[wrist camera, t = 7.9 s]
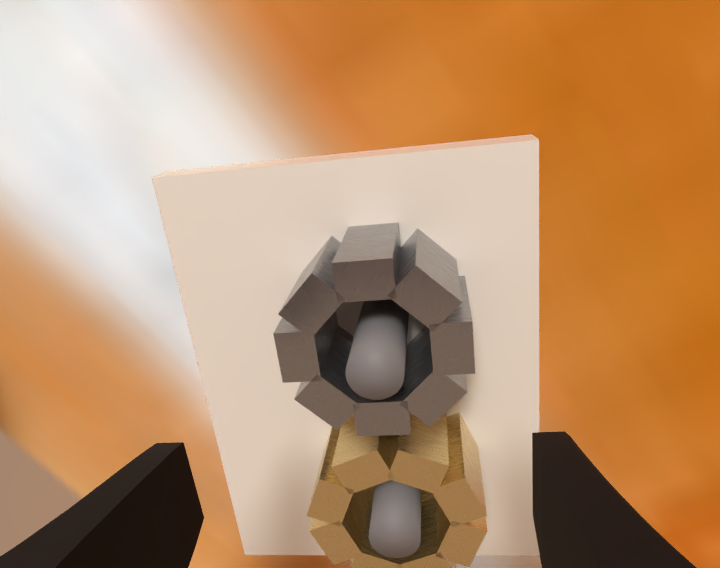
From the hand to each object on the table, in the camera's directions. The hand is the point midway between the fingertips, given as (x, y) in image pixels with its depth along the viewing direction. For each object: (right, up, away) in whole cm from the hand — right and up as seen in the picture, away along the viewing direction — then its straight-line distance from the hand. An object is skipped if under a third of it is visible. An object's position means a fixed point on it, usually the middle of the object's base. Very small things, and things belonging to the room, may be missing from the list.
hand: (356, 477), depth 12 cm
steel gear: (+1, +3, +7) cm, 8 cm away
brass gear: (+2, -2, +10) cm, 10 cm away
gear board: (0, +1, +10) cm, 10 cm away
